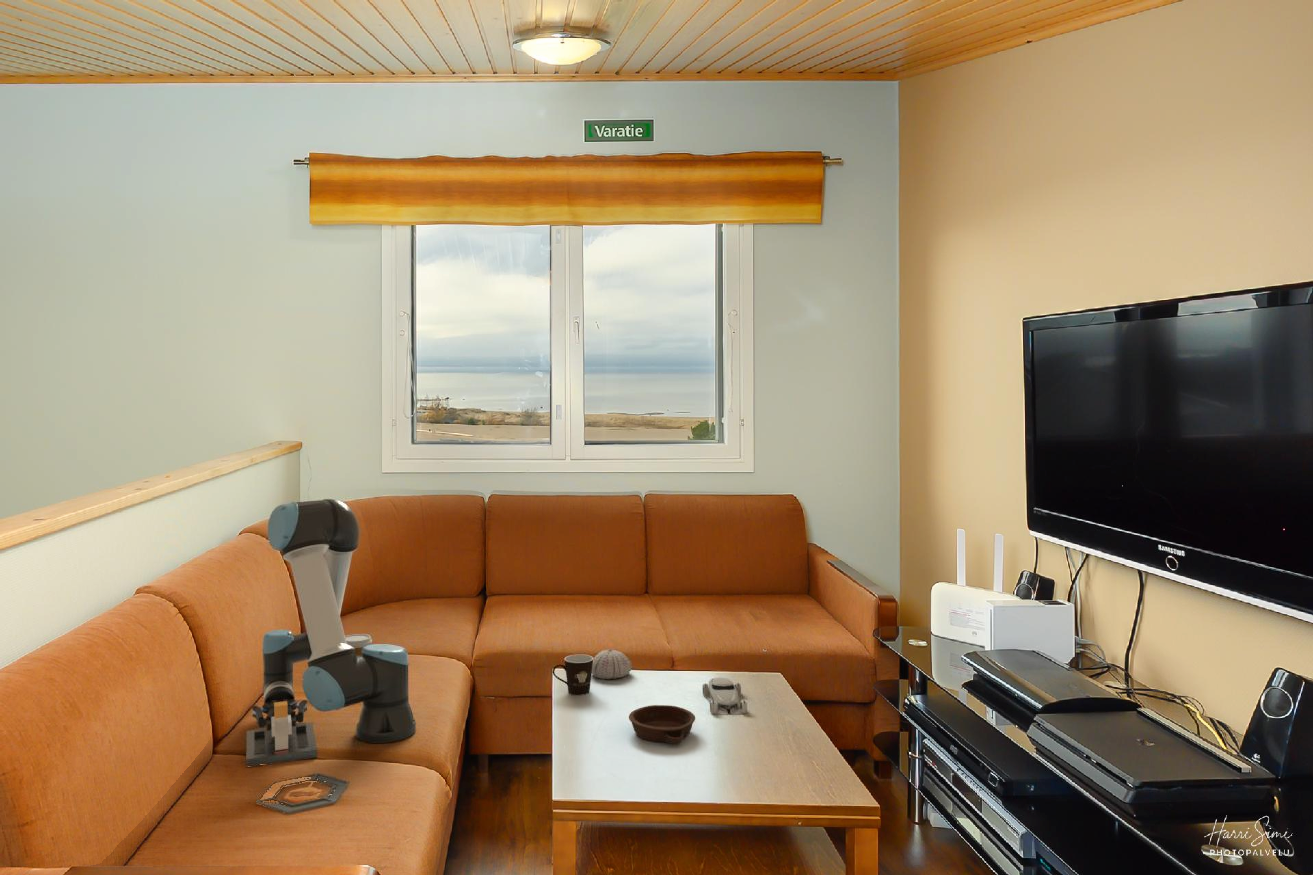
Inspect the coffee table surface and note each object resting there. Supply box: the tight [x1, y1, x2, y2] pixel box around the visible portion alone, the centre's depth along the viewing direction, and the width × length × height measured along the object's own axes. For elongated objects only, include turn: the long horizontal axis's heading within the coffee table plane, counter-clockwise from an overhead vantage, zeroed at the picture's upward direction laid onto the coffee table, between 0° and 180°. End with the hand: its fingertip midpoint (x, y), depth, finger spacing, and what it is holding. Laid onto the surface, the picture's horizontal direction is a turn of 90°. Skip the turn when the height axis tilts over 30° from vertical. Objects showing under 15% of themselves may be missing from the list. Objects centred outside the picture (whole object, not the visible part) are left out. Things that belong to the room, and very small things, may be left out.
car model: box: [702, 677, 748, 716], centre depth 277 cm, size 11×24×5 cm, turn 3°
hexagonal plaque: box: [255, 772, 350, 815], centre depth 214 cm, size 17×20×1 cm
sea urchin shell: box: [591, 649, 633, 680], centre depth 300 cm, size 13×14×8 cm
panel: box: [245, 722, 318, 767], centre depth 240 cm, size 20×16×3 cm
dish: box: [628, 704, 696, 745], centre depth 251 cm, size 18×22×5 cm
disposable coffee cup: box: [345, 633, 373, 656], centre depth 299 cm, size 10×10×12 cm
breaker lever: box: [274, 701, 288, 750], centre depth 234 cm, size 3×3×11 cm
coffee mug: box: [552, 654, 594, 696], centre depth 284 cm, size 12×9×10 cm
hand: (281, 729), depth 229 cm, fingers closed on breaker lever, 3 cm apart
